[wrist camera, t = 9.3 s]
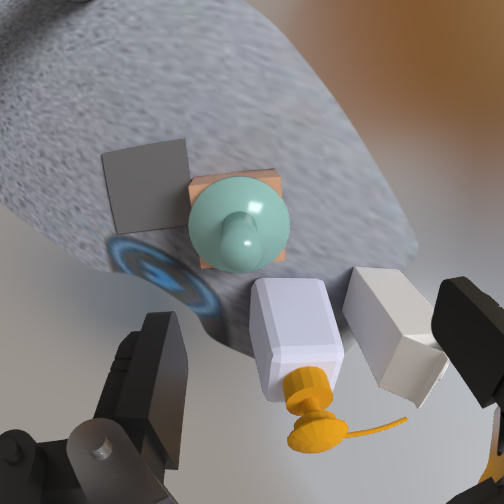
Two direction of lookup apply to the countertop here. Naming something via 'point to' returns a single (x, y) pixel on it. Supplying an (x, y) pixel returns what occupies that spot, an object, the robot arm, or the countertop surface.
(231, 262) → the lid
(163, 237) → the countertop surface
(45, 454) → the robot arm
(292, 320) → the soap bottle
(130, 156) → the mat
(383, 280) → the milk carton
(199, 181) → the dish
